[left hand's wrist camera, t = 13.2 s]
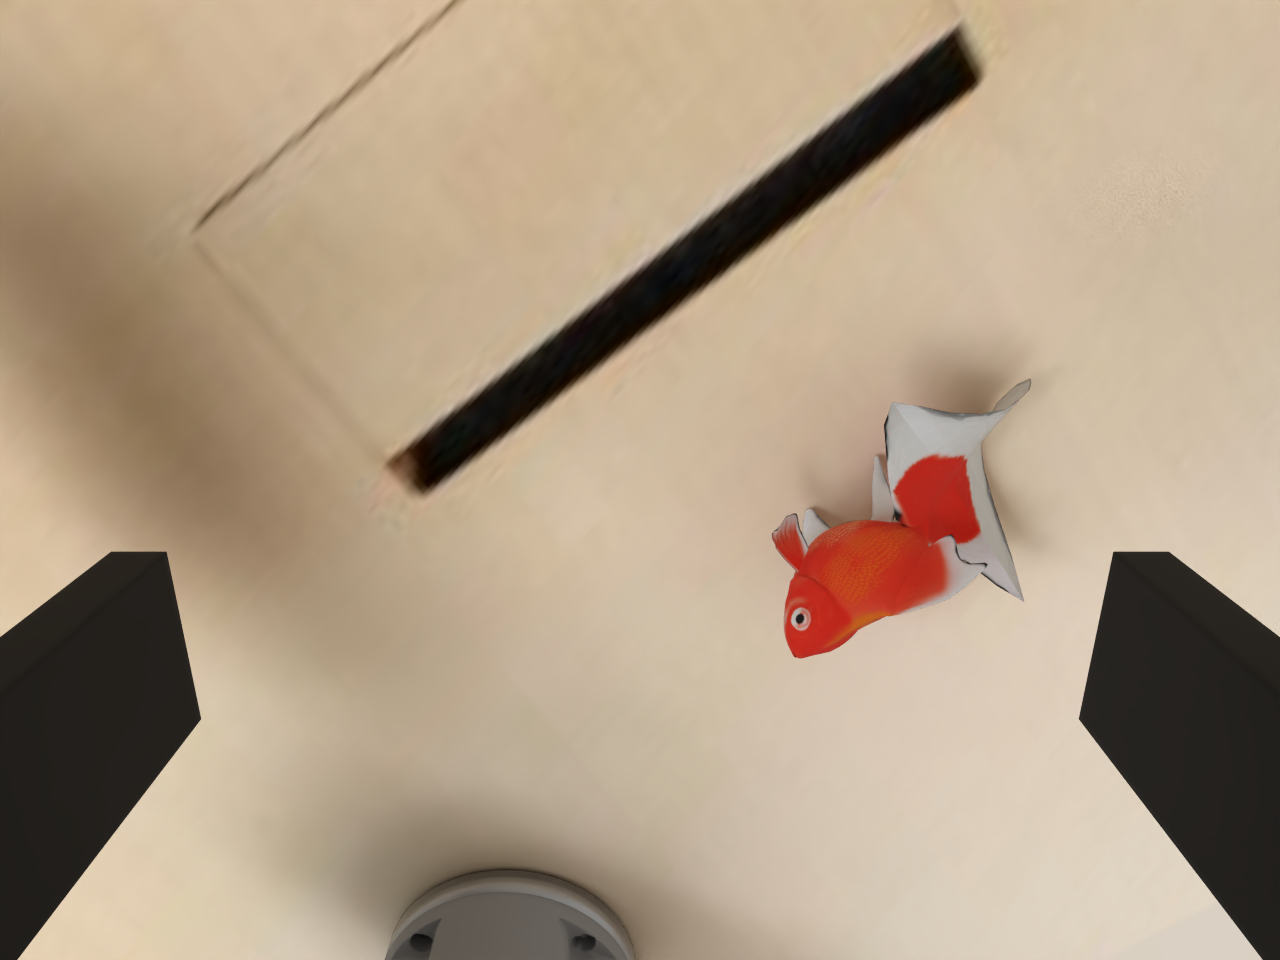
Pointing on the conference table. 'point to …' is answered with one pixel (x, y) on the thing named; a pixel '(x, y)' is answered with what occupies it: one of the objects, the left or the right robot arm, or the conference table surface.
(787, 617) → the fish
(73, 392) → the conference table surface
